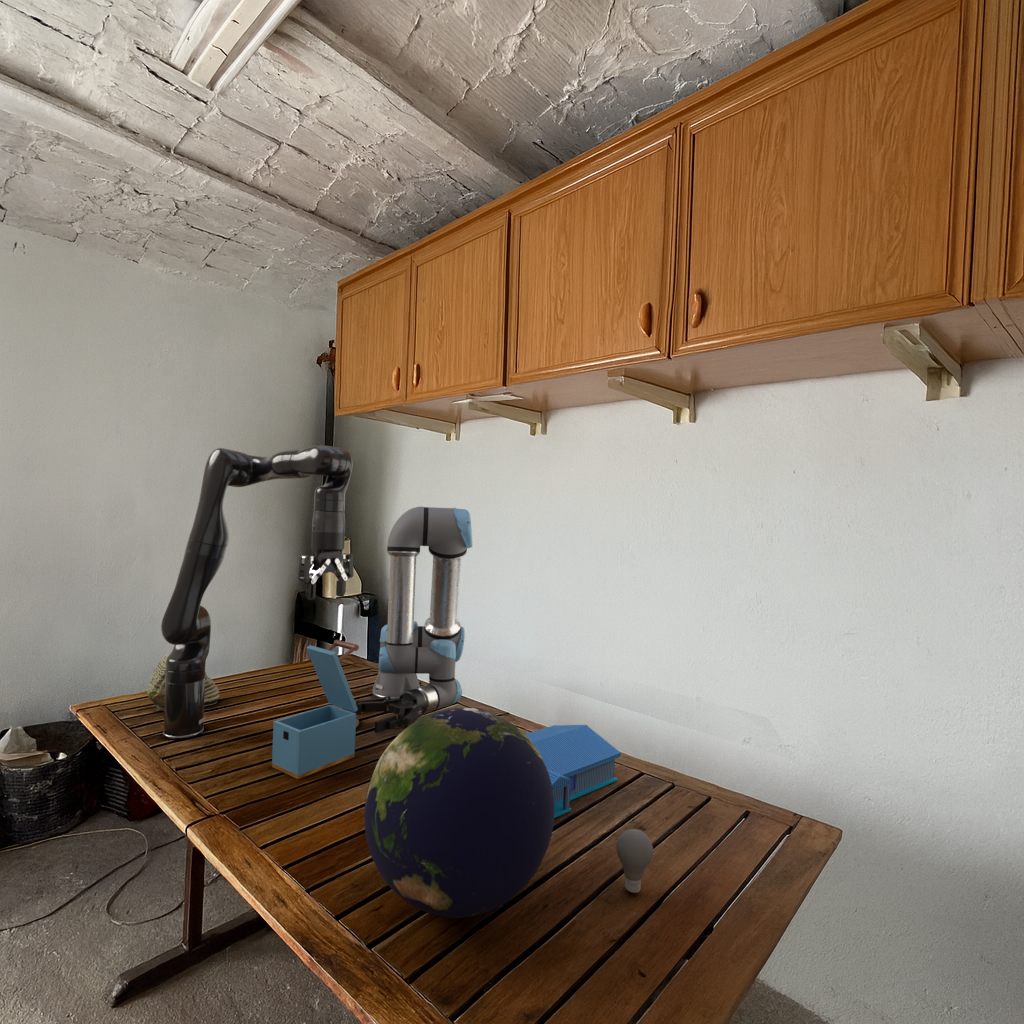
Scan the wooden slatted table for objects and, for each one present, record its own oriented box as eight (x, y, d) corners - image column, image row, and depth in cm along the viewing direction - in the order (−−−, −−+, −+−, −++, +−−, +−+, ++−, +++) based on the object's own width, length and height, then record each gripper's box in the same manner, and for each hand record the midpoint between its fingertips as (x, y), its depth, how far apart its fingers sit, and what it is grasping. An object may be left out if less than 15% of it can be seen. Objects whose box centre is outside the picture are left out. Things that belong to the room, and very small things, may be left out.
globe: (319, 928, 93) (327, 726, 93) (422, 833, 121) (429, 676, 120) (506, 997, 82) (516, 767, 81) (573, 874, 109) (581, 702, 109)
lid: (332, 654, 148) (357, 635, 154) (306, 647, 153) (331, 628, 159) (354, 712, 154) (377, 691, 160) (328, 703, 160) (351, 683, 166)
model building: (501, 841, 119) (503, 788, 119) (426, 793, 137) (428, 747, 137) (629, 785, 145) (631, 742, 145) (552, 750, 163) (554, 712, 163)
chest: (297, 779, 141) (299, 731, 141) (271, 767, 147) (273, 721, 147) (354, 757, 155) (356, 713, 154) (328, 746, 160) (330, 704, 160)
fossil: (144, 707, 182) (145, 655, 182) (212, 696, 194) (213, 647, 194) (151, 716, 175) (153, 662, 175) (221, 703, 188) (223, 653, 188)
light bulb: (610, 879, 108) (613, 822, 108) (644, 879, 109) (647, 822, 109) (619, 902, 102) (622, 840, 102) (655, 901, 103) (658, 840, 103)
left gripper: (313, 531, 143) (311, 603, 143) (362, 530, 155) (359, 596, 155) (293, 529, 147) (290, 598, 148) (341, 528, 159) (339, 593, 159)
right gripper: (449, 725, 171) (390, 748, 154) (387, 704, 186) (326, 723, 169) (451, 698, 171) (392, 717, 154) (388, 679, 186) (327, 695, 169)
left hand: (325, 597), depth 151 cm, fingers open, 8 cm apart
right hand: (357, 720), depth 161 cm, fingers open, 13 cm apart
